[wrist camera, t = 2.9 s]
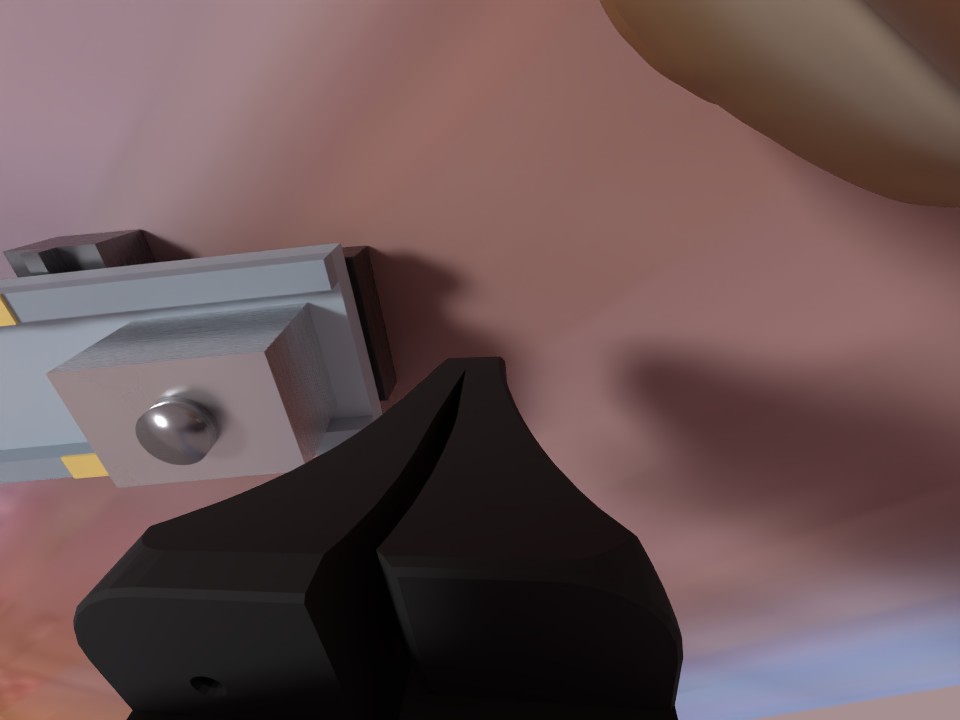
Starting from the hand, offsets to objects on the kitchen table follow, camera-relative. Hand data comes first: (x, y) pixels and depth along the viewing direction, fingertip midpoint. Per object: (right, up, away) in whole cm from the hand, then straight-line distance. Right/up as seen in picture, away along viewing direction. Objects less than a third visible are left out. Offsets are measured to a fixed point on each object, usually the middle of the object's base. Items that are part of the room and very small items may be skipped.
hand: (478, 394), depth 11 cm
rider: (-7, +1, +3) cm, 8 cm away
